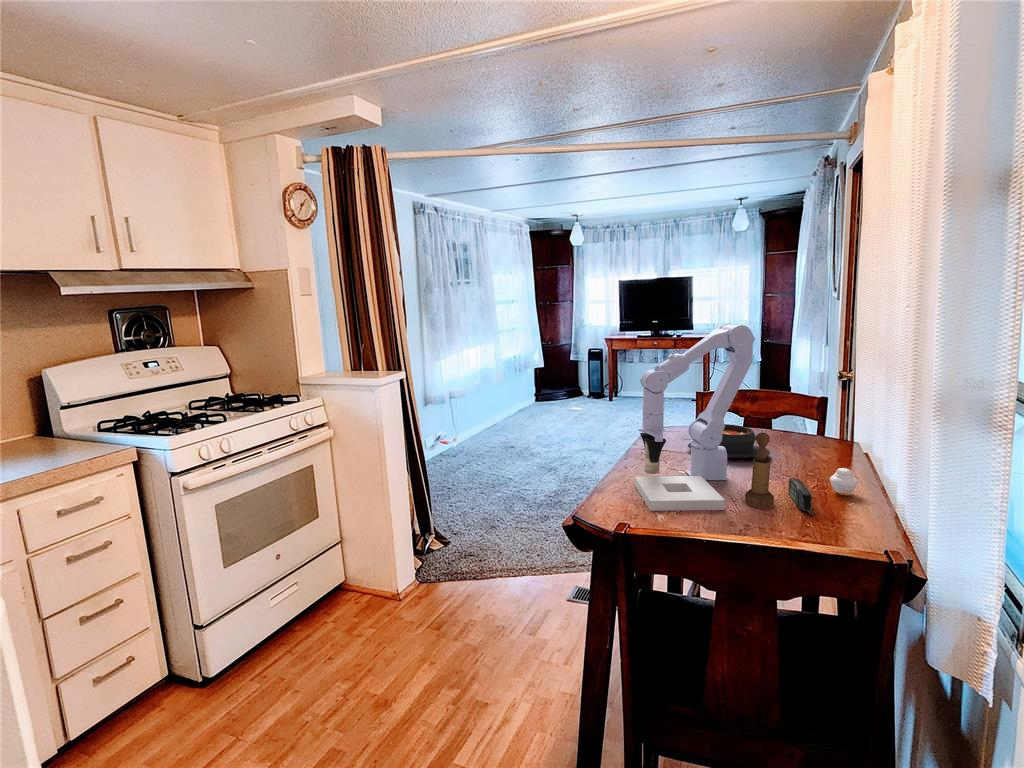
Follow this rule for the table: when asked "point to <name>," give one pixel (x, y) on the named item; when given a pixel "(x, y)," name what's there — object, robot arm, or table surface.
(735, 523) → the table surface
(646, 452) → the peg
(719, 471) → the robot arm
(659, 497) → the socket
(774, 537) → the table surface
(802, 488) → the dark grey oblong block
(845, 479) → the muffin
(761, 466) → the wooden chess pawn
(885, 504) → the table surface
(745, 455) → the casserole
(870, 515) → the table surface
